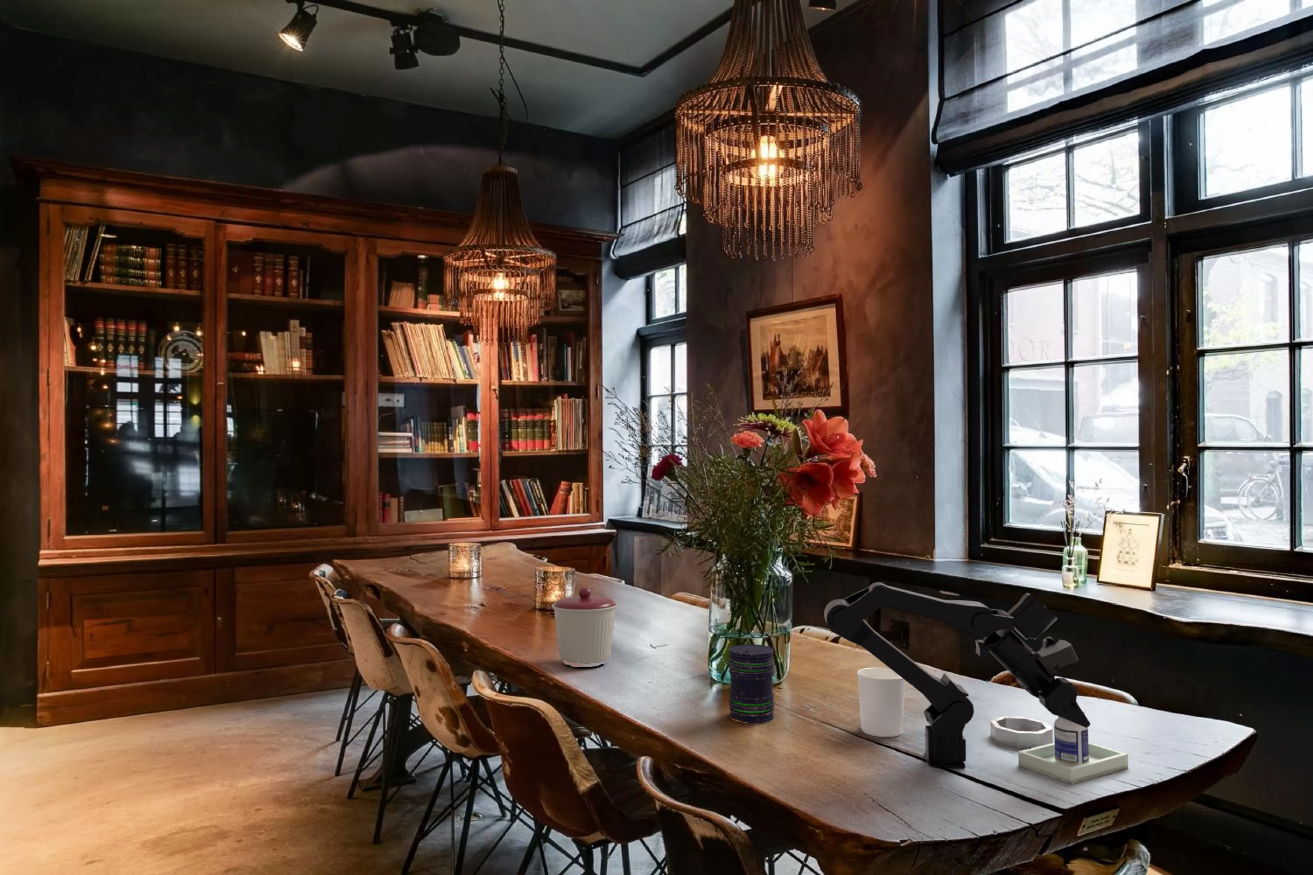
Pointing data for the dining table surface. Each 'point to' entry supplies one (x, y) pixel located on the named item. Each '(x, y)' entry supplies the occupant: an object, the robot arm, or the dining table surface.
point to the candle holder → (881, 701)
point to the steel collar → (1021, 732)
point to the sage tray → (1098, 765)
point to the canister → (584, 627)
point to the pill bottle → (1070, 743)
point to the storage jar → (751, 683)
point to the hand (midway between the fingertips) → (1079, 718)
